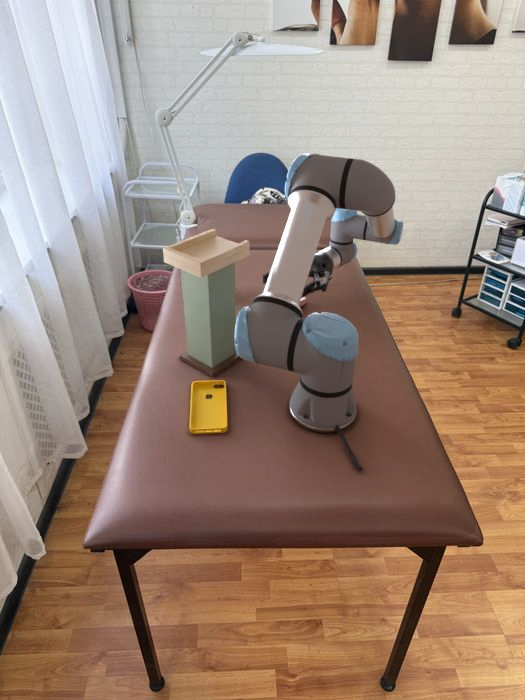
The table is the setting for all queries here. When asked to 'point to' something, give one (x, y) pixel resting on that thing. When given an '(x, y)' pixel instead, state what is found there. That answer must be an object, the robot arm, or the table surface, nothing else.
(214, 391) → the phone case
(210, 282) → the stand
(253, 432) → the table surface
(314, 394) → the robot arm
